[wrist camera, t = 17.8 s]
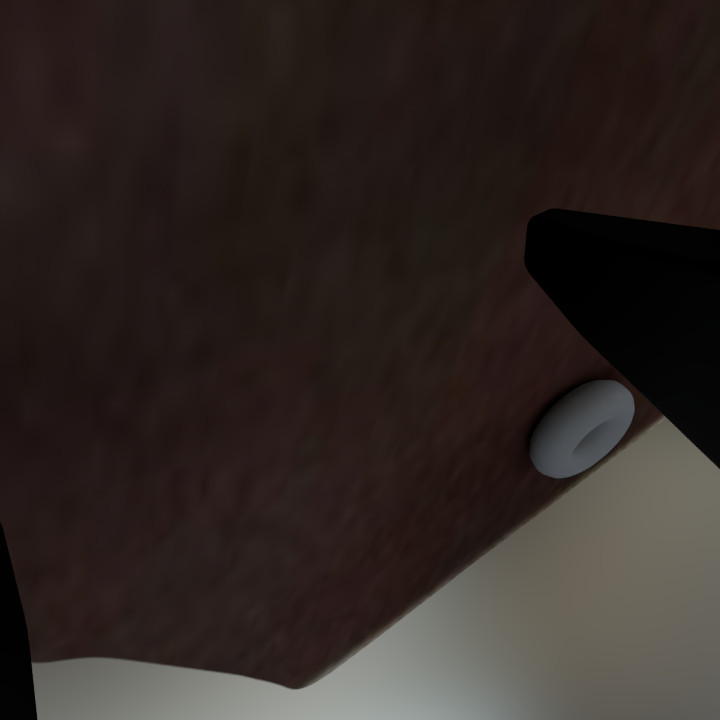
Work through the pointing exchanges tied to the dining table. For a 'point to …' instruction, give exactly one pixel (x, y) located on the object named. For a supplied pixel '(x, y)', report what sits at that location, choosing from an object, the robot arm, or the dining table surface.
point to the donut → (581, 428)
